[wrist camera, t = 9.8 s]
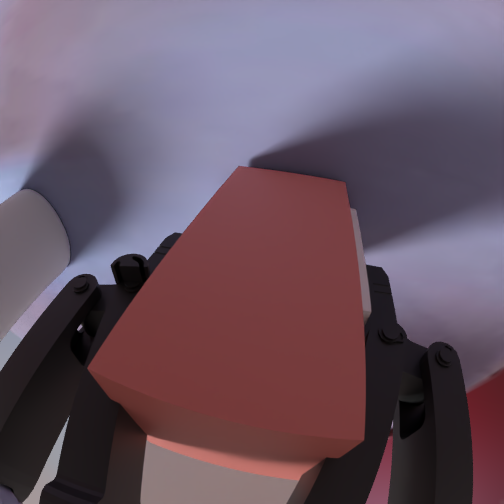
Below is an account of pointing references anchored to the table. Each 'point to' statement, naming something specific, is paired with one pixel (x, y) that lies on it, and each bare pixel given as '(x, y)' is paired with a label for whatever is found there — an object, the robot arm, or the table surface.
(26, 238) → the mug
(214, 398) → the red mallet
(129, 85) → the table surface
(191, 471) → the cabinet
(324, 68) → the table surface
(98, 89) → the table surface
